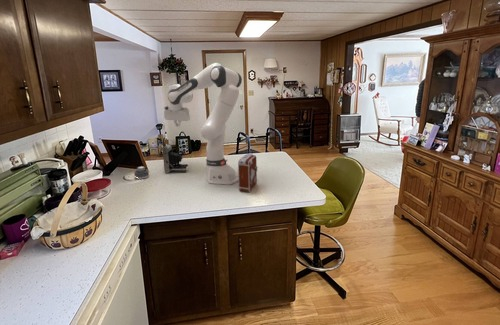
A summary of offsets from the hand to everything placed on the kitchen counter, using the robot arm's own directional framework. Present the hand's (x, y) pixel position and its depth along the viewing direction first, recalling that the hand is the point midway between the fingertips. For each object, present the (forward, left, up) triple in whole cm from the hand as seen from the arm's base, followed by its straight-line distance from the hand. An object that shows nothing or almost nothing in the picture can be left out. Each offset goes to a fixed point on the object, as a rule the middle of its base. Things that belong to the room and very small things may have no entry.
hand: (177, 126), depth 209 cm
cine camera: (-64, +19, -31) cm, 74 cm away
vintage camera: (-3, +10, -31) cm, 33 cm away
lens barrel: (+12, +29, -31) cm, 44 cm away
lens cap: (+12, +29, -29) cm, 43 cm away
